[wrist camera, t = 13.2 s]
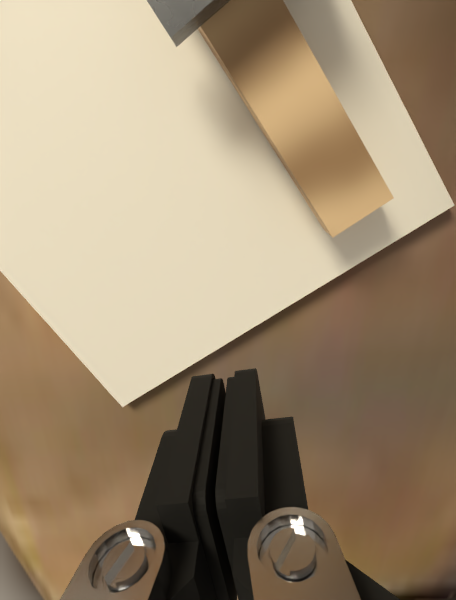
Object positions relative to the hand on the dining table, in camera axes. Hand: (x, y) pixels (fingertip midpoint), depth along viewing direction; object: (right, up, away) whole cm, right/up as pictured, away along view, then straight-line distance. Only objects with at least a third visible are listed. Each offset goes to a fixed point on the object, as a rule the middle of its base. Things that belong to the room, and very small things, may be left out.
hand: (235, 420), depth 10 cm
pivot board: (-6, +14, +16) cm, 22 cm away
